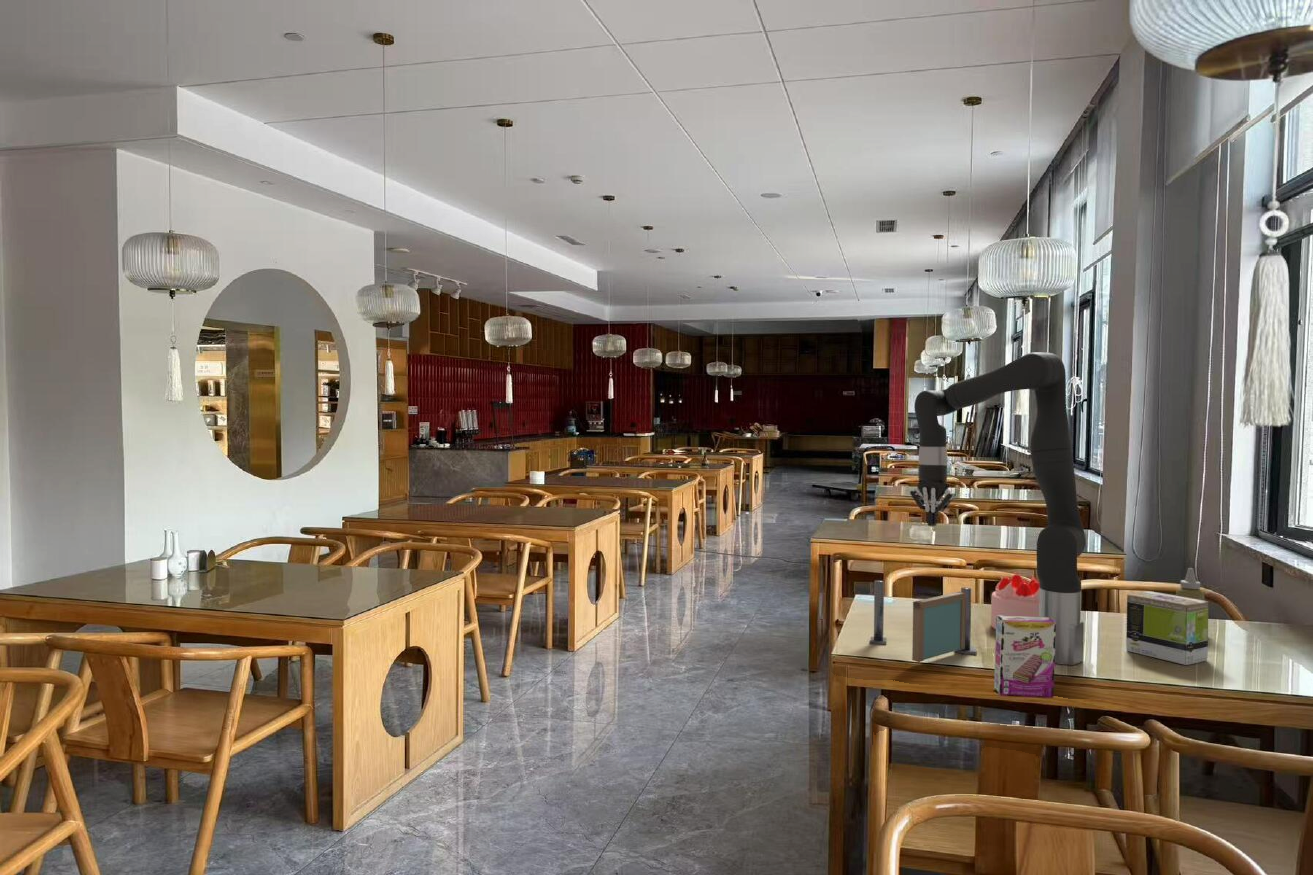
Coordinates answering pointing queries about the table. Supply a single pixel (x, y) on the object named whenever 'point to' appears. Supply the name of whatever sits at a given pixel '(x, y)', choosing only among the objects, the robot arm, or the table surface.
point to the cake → (1015, 598)
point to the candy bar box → (1025, 656)
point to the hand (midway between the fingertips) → (932, 525)
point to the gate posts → (880, 618)
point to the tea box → (1167, 627)
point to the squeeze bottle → (1190, 587)
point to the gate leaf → (938, 625)
